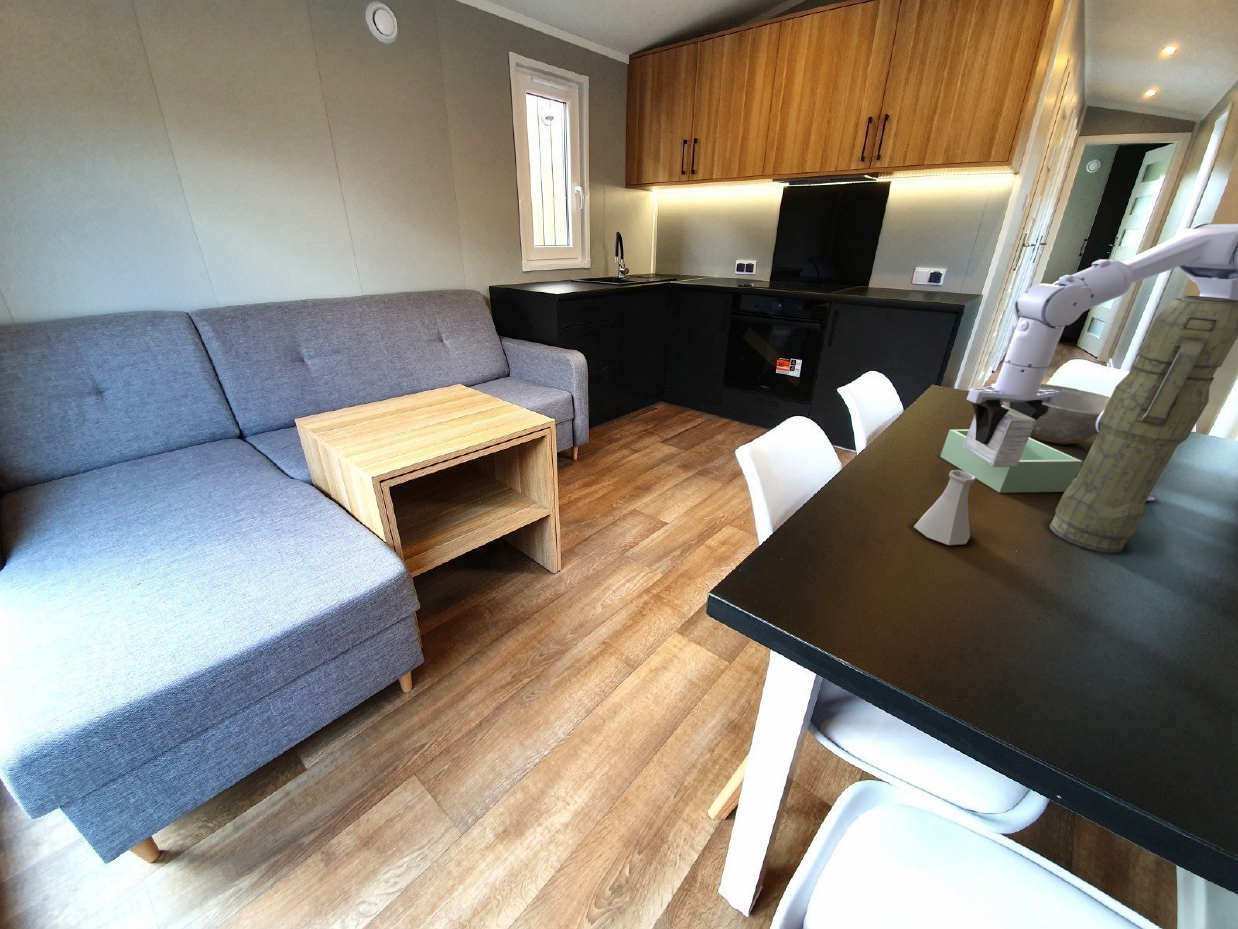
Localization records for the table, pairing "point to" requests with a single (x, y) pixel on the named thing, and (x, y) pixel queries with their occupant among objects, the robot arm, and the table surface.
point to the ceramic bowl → (1069, 416)
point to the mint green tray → (1032, 474)
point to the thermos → (1147, 422)
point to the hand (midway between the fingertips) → (995, 441)
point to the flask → (949, 512)
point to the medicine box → (1002, 440)
